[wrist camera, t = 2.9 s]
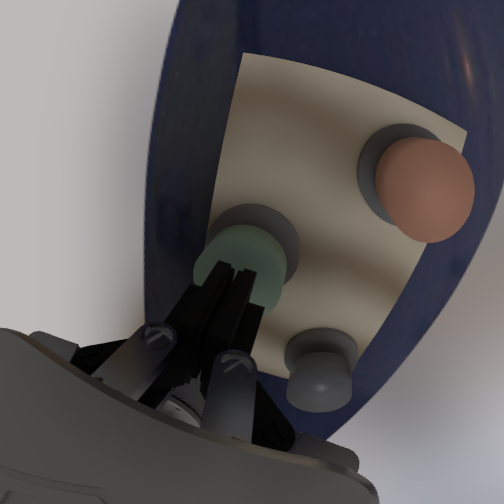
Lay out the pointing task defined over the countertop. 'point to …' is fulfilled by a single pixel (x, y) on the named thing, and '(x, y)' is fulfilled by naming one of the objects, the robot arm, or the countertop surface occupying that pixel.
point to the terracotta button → (425, 188)
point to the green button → (247, 261)
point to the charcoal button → (319, 382)
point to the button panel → (319, 201)
